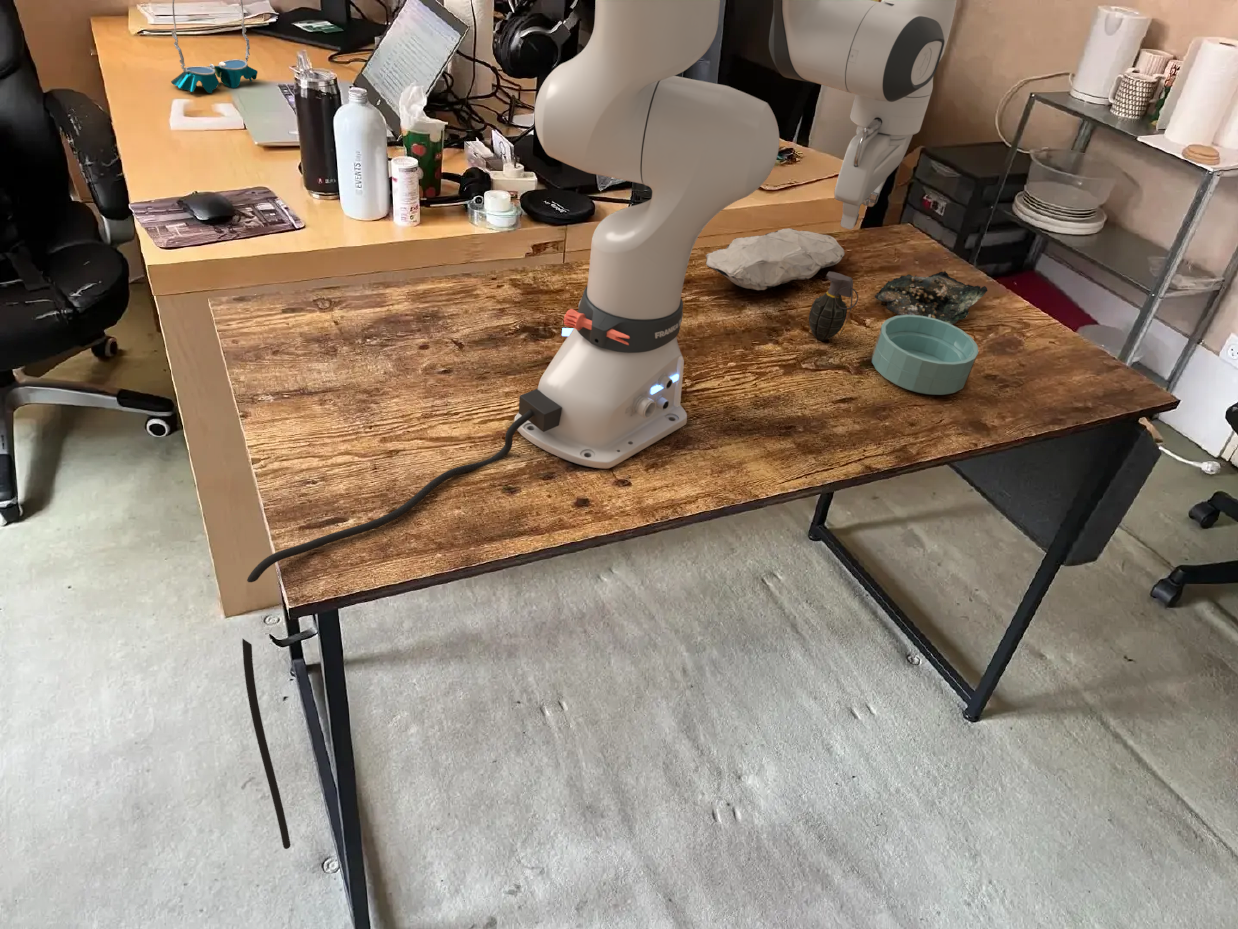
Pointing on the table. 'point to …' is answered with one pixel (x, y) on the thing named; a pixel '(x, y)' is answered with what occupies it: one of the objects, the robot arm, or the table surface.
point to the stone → (775, 258)
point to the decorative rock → (930, 296)
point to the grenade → (831, 307)
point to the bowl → (924, 354)
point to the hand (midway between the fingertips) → (858, 215)
